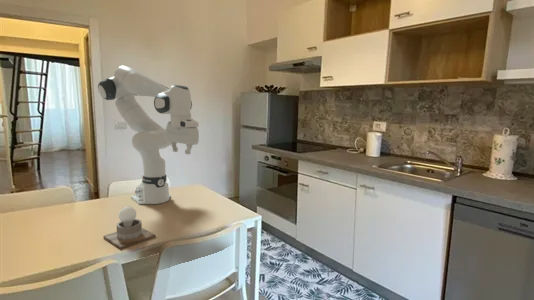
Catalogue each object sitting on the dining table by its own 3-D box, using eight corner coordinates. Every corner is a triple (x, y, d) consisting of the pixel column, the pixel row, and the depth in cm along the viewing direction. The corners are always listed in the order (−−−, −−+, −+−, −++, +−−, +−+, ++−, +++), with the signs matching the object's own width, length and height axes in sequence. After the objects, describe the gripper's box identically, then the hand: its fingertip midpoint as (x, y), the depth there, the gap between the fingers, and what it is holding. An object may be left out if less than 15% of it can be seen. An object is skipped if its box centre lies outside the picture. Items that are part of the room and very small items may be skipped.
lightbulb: (119, 238, 116) (118, 210, 114) (119, 231, 121) (118, 205, 120) (137, 235, 119) (136, 208, 117) (136, 229, 124) (135, 203, 123)
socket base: (103, 238, 118) (102, 223, 117) (137, 227, 129) (137, 214, 128) (120, 249, 109) (119, 233, 108) (155, 237, 120) (155, 222, 119)
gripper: (161, 121, 138) (162, 150, 140) (189, 123, 125) (189, 156, 127) (173, 120, 143) (174, 149, 145) (201, 123, 130) (201, 154, 132)
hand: (181, 152), depth 136 cm, fingers open, 8 cm apart
